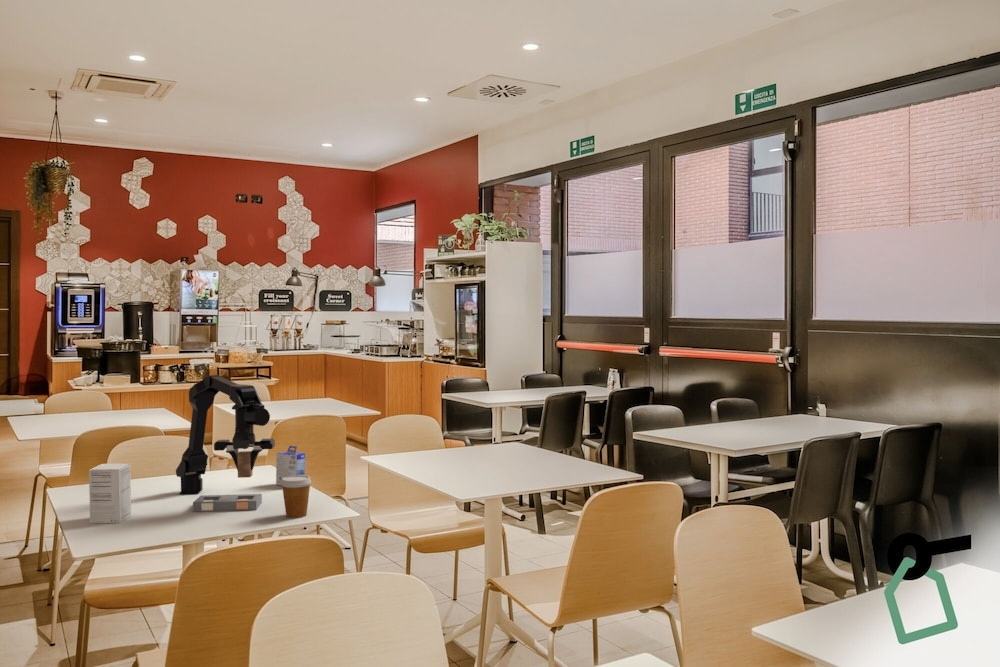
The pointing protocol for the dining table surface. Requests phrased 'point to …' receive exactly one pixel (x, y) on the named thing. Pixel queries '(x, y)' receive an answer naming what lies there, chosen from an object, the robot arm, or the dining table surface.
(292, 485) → the disposable coffee cup
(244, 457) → the walnut plug
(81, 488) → the dining table surface
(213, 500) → the socket board
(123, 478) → the supplement box
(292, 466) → the ink cartridge box
